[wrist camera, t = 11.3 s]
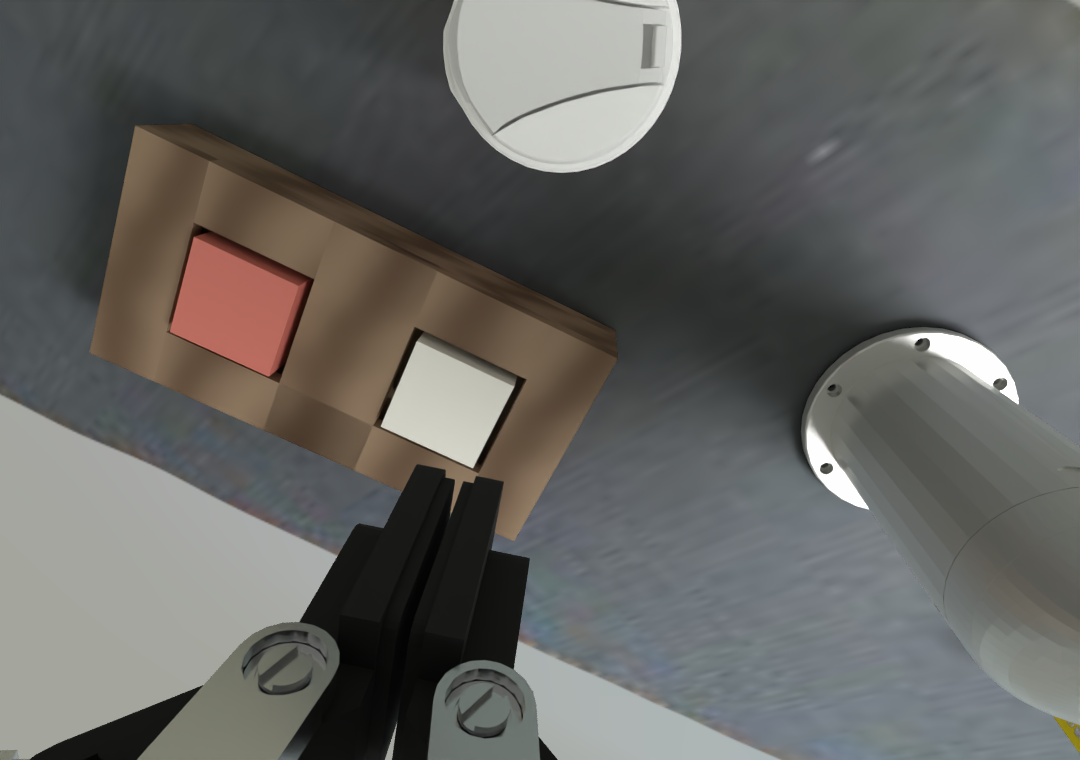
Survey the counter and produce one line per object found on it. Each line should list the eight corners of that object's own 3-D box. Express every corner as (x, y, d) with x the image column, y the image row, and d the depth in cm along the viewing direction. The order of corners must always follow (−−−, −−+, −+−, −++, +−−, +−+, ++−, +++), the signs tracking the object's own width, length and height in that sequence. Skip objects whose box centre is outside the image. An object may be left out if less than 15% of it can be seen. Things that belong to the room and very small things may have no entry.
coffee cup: (656, -17, 34) (698, -106, 20) (645, 152, 37) (676, 177, 23) (495, -15, 34) (426, -100, 20) (498, 151, 37) (441, 175, 23)
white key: (520, 367, 40) (514, 386, 37) (481, 444, 42) (472, 468, 39) (429, 324, 39) (416, 341, 36) (395, 405, 41) (380, 426, 38)
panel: (615, 330, 41) (618, 358, 36) (522, 498, 46) (514, 541, 41) (191, 123, 38) (135, 125, 33) (143, 327, 43) (89, 352, 39)
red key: (320, 273, 38) (298, 286, 35) (291, 358, 40) (268, 376, 38) (223, 227, 38) (193, 236, 35) (199, 316, 40) (169, 332, 37)
